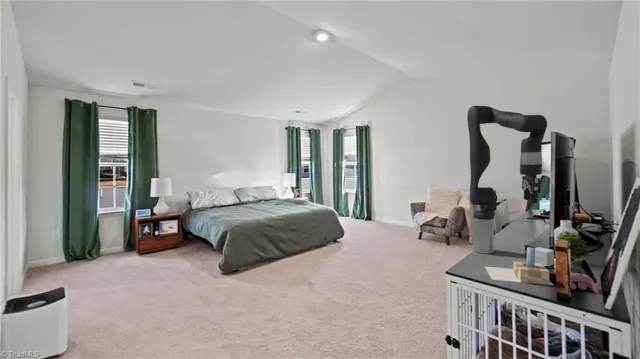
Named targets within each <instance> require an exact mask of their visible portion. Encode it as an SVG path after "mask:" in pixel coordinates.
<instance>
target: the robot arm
mask: <svg viewBox="0 0 640 359" xmlns="http://www.w3.org/2000/svg"><path fill="white" fill-rule="evenodd" d="M486 124H487V125H488V124H497V125H498V126H501V127H503V128H507V129H511V130H515V131H516V132H521V133H529V135H528V137H526V138H523V139H522V140H521V142H520V156H519V174H520V175H521V177H522V178H521V189H522V190H523V200H524V201H529V202H530V203H531V204H537V203H538V196H539V194H541V178H540V177H537V176H538V175H542V174H543V153H542V152H543V151H542V148H543V147H542V146H543V145H542V143H543V140H544V137H545V134H546V130H547V127H548V121H547V118H546V116H544V115H541V114H523V113H520V112H514V111H507V110H506V111H505V110H500V109H496V108H494V107H491V106H488V105H472V106H470V107H469V109H468V111H467V128H468V135H469V164H470V166H469V167H470V169H469V170H470V181H469V182H470V184H469V185H470V186H469V201H470V203H471V205H473V206H484V207H483V208H482V209H479V210H476V211H474V212H473V214H472V215H473V220H472V222H473V223H472V226H473V227H472V228H473V230H472V233H473V239H472V240H473V244H472V245H473V249H472V250H473V251H474V252H476V253H479V254H488V255H490V254H494V253H495V251H494V250H495V247H494V246H495V226H494V225H495V219H494V218H495V217H494V216H495V202H496V199H495V198H496V193H495V190H494V188H492V187H490V186H488V187H487V186H486V187H484V186H483V187H482V186H481V187H480V186H479V183H480V180H481V177H482V176H483V174H484V172H485V171H486V169H487V168H488V166H489V165H490V163H491V148H490V146H489V144H488V142H487V140H486V139H485V138H484V136H483V133H482V131H481V125H486Z"/></svg>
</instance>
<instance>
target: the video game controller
mask: <svg viewBox="0 0 640 359" xmlns="http://www.w3.org/2000/svg"><path fill="white" fill-rule="evenodd" d="M570 273H571V290H575V289H577V287H578V289H579V290H583V291H586V290H587V289H588V288H590V290H591V291H592V292H593V293H595V294H599V292H600V290H599V288H598V286H597V284H596V283H595V281H594V280H593V279H592V277H591V276H589V275H588V274H585V273H579V272H570ZM574 282H578V283H577V285H576V283H574Z"/></svg>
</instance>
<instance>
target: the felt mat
mask: <svg viewBox="0 0 640 359" xmlns="http://www.w3.org/2000/svg"><path fill="white" fill-rule="evenodd" d="M484 268H485V269H486V272H487V274H488V275H489V277H490V279H491V280H492V281H493V280H494V281H504V282H512V283H513V282H514V283H521V282H520V281H519V280H518V278H517V277H516V276H515V275H514V268H509V267H496V266H495V267H494V266H484ZM523 283H525V282H523ZM533 284H535V285H536V283H533ZM546 285H547V284H544V286H546ZM547 286H554V283H552V281H550V280H549V285H547Z"/></svg>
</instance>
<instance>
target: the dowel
mask: <svg viewBox="0 0 640 359" xmlns="http://www.w3.org/2000/svg"><path fill="white" fill-rule="evenodd" d="M535 248H536V247H526V262H527V265H526V268H535Z"/></svg>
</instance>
